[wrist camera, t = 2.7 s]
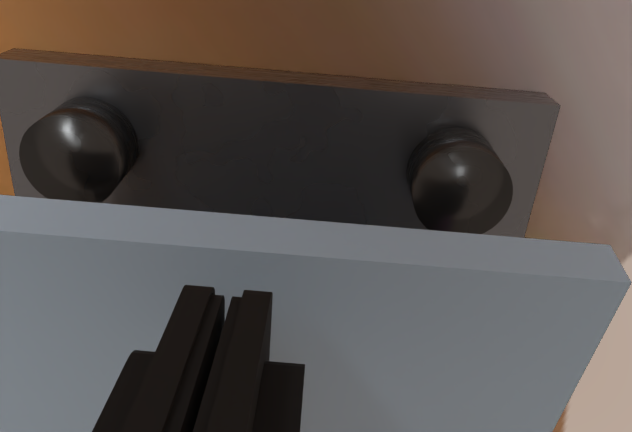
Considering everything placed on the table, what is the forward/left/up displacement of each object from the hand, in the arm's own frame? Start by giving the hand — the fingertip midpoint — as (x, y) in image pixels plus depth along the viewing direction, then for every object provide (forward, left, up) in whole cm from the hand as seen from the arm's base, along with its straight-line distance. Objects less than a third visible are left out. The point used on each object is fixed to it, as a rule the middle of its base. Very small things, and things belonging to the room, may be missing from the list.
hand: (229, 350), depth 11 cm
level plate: (+8, 0, -4) cm, 9 cm away
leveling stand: (+8, 0, -11) cm, 13 cm away
